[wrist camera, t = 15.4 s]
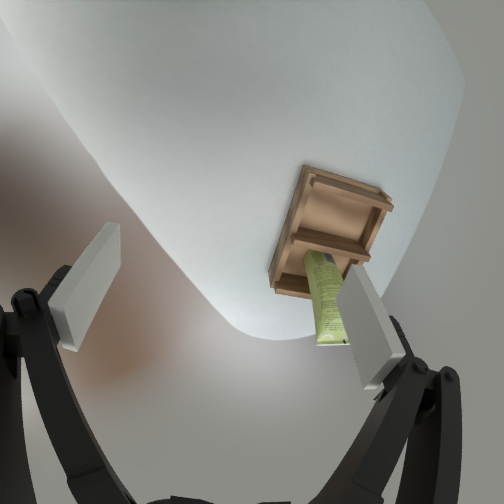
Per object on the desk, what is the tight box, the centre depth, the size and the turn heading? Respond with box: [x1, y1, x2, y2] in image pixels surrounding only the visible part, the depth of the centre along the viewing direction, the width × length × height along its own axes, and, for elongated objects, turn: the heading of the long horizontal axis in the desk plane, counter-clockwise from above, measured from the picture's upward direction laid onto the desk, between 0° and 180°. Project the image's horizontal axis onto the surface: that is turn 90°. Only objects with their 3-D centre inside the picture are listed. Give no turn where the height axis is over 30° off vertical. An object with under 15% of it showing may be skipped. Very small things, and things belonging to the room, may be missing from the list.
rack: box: [269, 165, 394, 299], centre depth 46 cm, size 20×14×6 cm
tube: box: [304, 249, 350, 346], centre depth 42 cm, size 6×5×20 cm
